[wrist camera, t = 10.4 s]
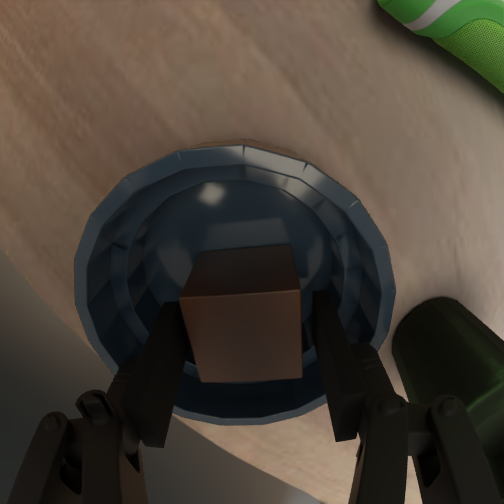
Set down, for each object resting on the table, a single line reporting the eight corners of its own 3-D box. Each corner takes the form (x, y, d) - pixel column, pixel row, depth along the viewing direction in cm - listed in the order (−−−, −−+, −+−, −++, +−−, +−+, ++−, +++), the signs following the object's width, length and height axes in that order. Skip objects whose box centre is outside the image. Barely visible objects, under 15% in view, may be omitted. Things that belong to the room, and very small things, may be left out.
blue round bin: (116, 328, 20) (83, 387, 15) (141, 117, 15) (87, 115, 10) (309, 371, 21) (321, 438, 16) (388, 182, 16) (444, 210, 11)
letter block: (213, 326, 19) (200, 383, 15) (199, 251, 17) (177, 297, 13) (294, 320, 19) (303, 378, 14) (291, 243, 17) (301, 289, 12)
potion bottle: (359, 360, 21) (429, 597, 4) (424, 268, 18) (597, 499, 2) (428, 380, 22) (505, 555, 6) (486, 305, 19) (612, 469, 3)
